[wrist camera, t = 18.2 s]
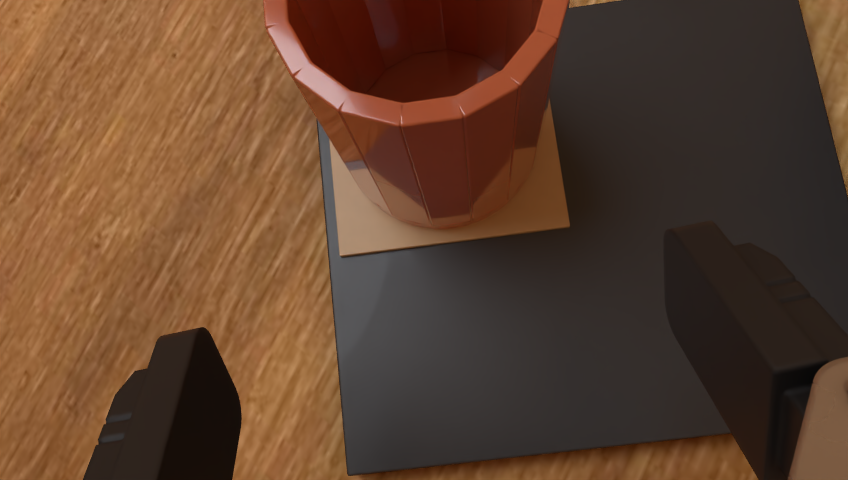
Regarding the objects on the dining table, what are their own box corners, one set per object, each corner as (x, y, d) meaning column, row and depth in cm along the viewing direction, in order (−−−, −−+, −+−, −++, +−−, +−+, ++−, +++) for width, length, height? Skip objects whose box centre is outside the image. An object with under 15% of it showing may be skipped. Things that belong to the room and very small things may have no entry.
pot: (354, 241, 23) (272, 144, 14) (337, 60, 24) (253, -132, 15) (552, 215, 23) (594, 99, 14) (524, 33, 24) (545, -179, 15)
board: (353, 472, 23) (345, 476, 21) (316, 58, 26) (308, 42, 24) (884, 413, 22) (907, 414, 20) (780, -9, 25) (795, -30, 24)
